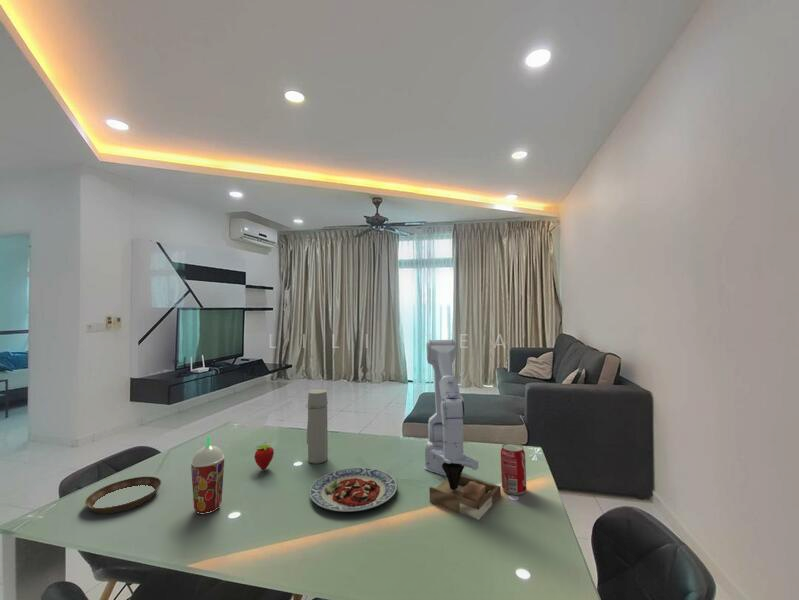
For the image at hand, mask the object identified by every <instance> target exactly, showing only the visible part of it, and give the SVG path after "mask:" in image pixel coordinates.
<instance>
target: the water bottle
mask: <svg viewBox="0 0 799 600" xmlns="http://www.w3.org/2000/svg"><path fill="white" fill-rule="evenodd" d="M328 404H329V402H328V394H327V390H326V389H312V390H309V391H308V397H307V404H306V405H305V408H307V425H306V426H307V427H306V445H307V460H308V462H309V463H310V464H314V465H315V464H323V463H324V462H326V461H327V460H328V458H329V456H328V452H329V451H328V449H329V448H328V445H329V443H328V441H329V439H328Z"/></svg>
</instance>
